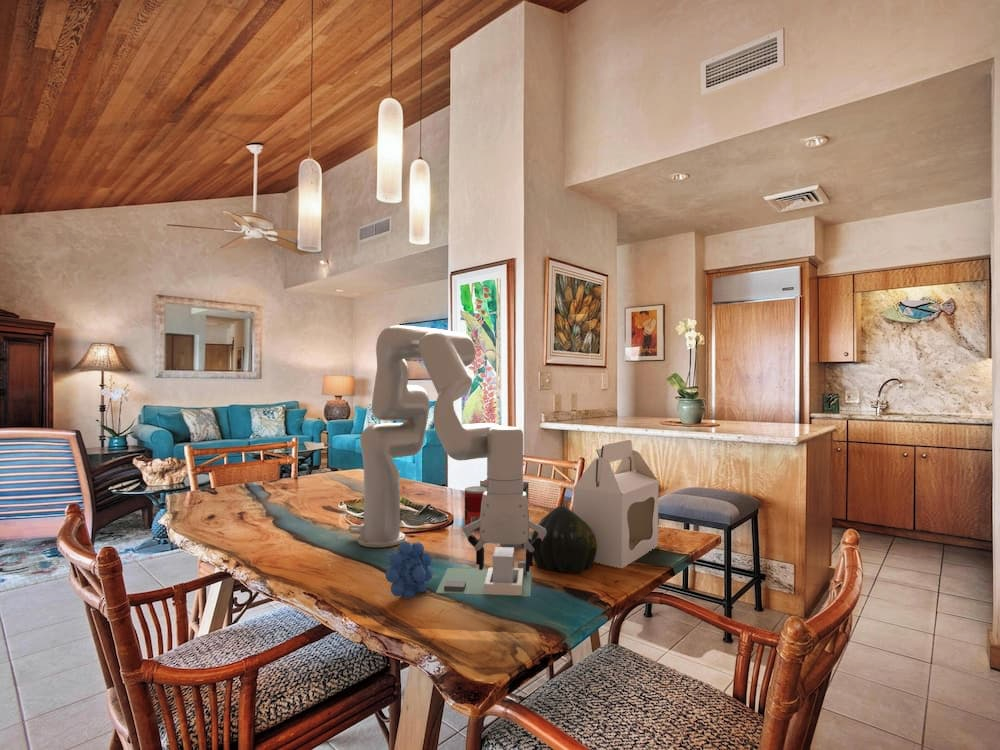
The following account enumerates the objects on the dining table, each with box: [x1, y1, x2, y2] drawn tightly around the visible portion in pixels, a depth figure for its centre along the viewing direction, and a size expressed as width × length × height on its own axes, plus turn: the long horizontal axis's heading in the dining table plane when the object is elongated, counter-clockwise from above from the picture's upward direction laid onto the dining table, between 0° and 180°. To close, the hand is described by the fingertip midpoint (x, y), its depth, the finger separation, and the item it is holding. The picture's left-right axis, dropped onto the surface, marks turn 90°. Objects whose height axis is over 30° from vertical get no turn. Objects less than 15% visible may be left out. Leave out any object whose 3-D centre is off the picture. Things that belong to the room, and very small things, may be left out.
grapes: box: [385, 541, 433, 599], centre depth 106 cm, size 12×7×12 cm, turn 141°
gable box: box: [572, 439, 659, 569], centre depth 138 cm, size 22×13×28 cm, turn 142°
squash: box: [530, 504, 597, 575], centre depth 125 cm, size 14×15×15 cm
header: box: [484, 566, 523, 596], centre depth 112 cm, size 8×10×2 cm
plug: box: [492, 546, 515, 583], centre depth 112 cm, size 4×7×7 cm, turn 175°
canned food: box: [464, 485, 487, 530], centre depth 161 cm, size 8×8×11 cm
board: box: [435, 560, 533, 597], centre depth 114 cm, size 19×14×4 cm
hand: (504, 568), depth 112 cm, fingers open, 9 cm apart
